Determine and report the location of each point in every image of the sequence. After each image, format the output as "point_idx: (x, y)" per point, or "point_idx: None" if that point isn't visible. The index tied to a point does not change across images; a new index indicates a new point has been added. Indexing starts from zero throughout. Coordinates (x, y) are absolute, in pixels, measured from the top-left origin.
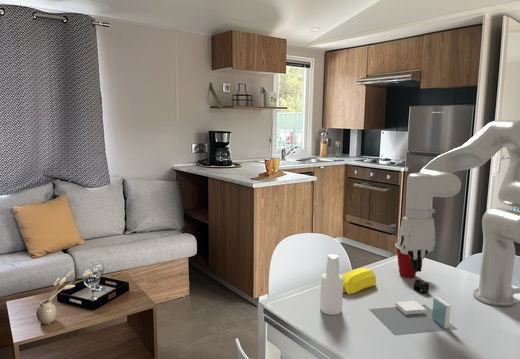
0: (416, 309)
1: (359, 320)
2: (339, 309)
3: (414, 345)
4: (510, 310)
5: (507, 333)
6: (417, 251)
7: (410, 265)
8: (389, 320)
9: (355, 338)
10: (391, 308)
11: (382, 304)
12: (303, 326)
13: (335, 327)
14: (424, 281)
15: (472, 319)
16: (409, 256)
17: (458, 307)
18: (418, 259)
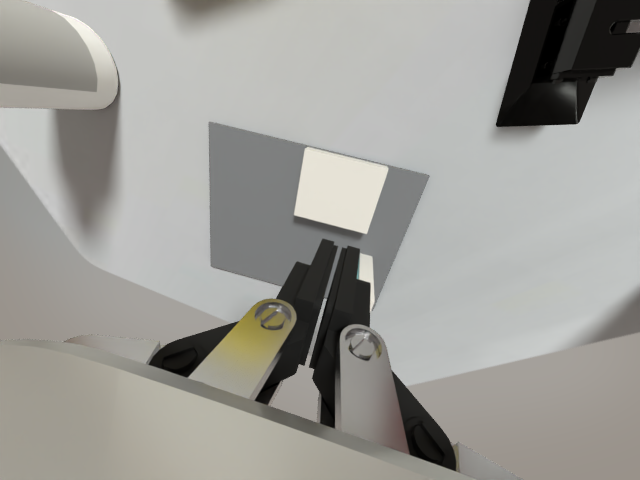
0: (334, 222)
1: (159, 168)
2: (92, 107)
3: (234, 301)
4: None
5: (469, 360)
6: (336, 398)
7: (295, 264)
8: (235, 211)
9: (125, 233)
10: (288, 150)
11: (284, 98)
12: (6, 135)
13: (87, 174)
14: (637, 33)
15: (471, 296)
16: (262, 302)
17: (528, 233)
18: (312, 360)
